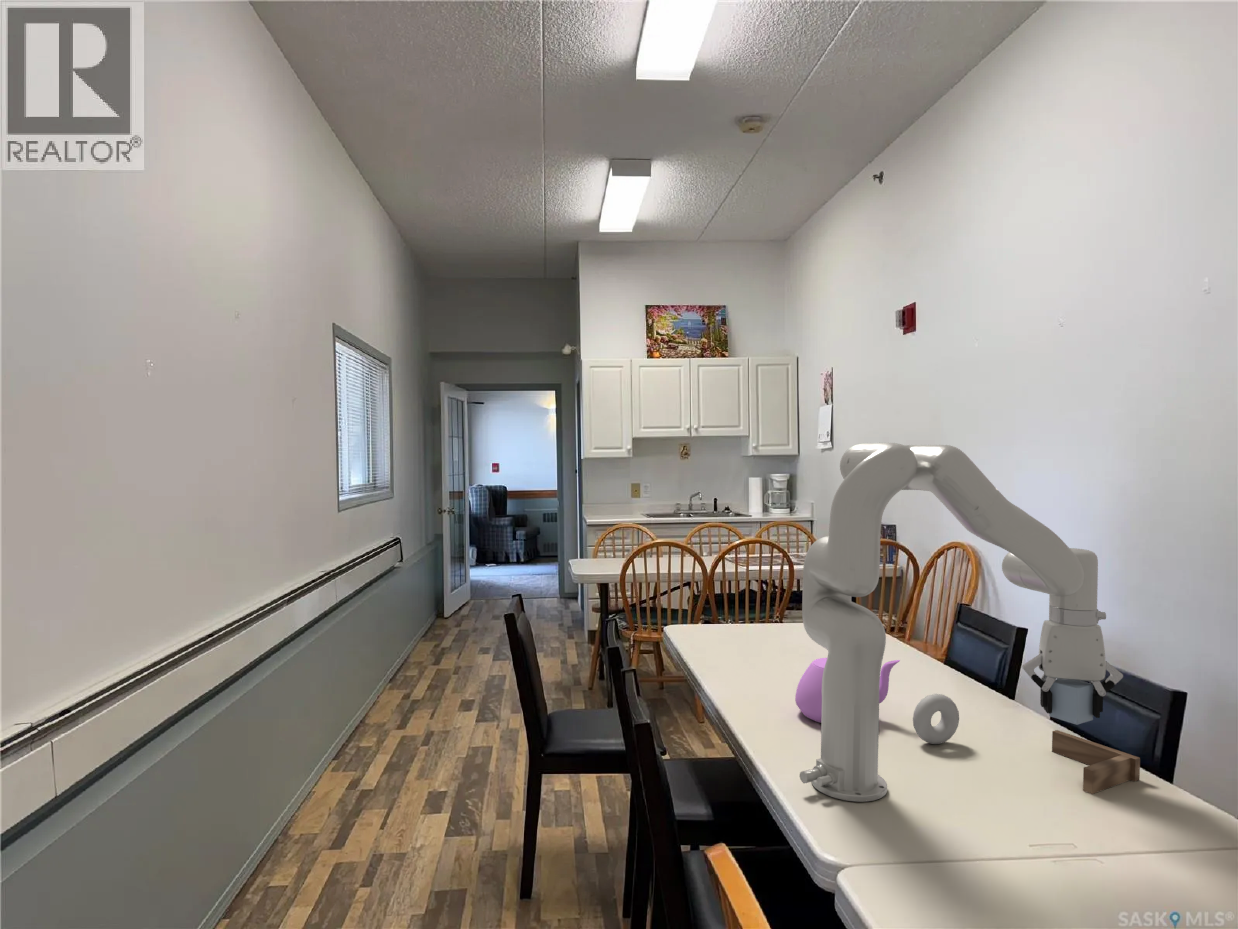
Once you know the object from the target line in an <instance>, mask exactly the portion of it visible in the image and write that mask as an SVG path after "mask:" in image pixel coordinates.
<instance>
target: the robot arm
mask: <svg viewBox="0 0 1238 929" xmlns="http://www.w3.org/2000/svg"><path fill="white" fill-rule="evenodd" d="M839 471H840V474H841V476H842V478H843V480H842V482H841V483H840V485H839V486H838V488H837V490H836V492H835V494H834V497H833V500H832V502H831V506H830V517H829V527H828V535H826V536H823V537H820V538H818V539H817V540H815V541H814V542H813V543H812V544H811V545H810V546H809V548H808V550H807V552H806V554H805V557H804V562H803V569H802V601H801V602H802V603H801V604H802V606H801V610H802V611H801V614H802V615H801V616H802V617H801V618H802V624H803V628H804V631H805V632H806V634H807V635H808V637H809V638H810V639H811V640H812V642H814V643H816V644H817V645H819V646H821V647H822V648H824V649H826V650H827V651H828V652H827V657H826V658H827V661H826V664H825V667H824V671H823V677H822V719H821V724H820V726H821V729H820V735H821V736H820V758H817V759H816V761H815V765H814V766H813V767H812V769H806V770H802V771H800V772H799V780H800V781H801V782H802V784H808V783H811V784H812V786H813V787H814V788H815V789H816V790H817V791H819V792H820V793H822V794H824V795H826V796H828V797H831V798H834V799H837V800H838V799H839V800H842V801H849V802H854V803H855V802H856V803H857V802H861V803H864V802H873V801H877V800H880V799H881V798H883V797H885V795H887V792H888V784H887V781H886V780H885V779H884V777H882V776H881V775H880V774H878V773H879V770H878V769H879V736H880V735H879V732H880V730H879V727H880V726H879V723H880V704H879V685H880V674H881V668H882V666H883V659H884V655H885V649H886V644H887V639H886V638H887V636H886V629H885V627H884V624H883V623H882V620H881V619H880V617H878V616H877V614H875V612H873V611H872V610H870V609H869V608H868V607H865V606H863V605H861V604H858V603H856V602H854V601H852V597H854V598H861V597H862V598H863V597H867V596H868V595H870V594H871V593H872V592H874V591H875V589H876V588H877V587H878V586H877V585H878V584H879V578H880V571H881V570H880V569H881V566H880V565H881V530H882V520H883V515H884V512H885V509H886V508H887V506H888V504H889V502H890V501H891V500H892V498H893V497H894V496H896V495H897V494H898V493H899V492H900V491H924V492H925V491H926V492H930V493H932V494H933V495H934V496H935V497H936V499H938V500H939V502H940V503H941V504H943V505H944V507H945V508H946V509H947V510H948V511H949V512H950V513H951V514H952V515H953V516H954V517H955V519H956V520H957V521H958V522H959V523H960V524H961V525H962V526H963V527H964V529H965V530H967V531H968V532H969V533H970V534H972V535H974V536H975V537H977V538H980V539H981V540H983V541H984V542H987V543H990V544H991V545H995V546H997V547H999V548H1001V549H1003V550H1005V551H1007V552H1008V553H1006V554H1005V556H1004V558H1003V559H1002V563H1001V571H1002V573H1003V575H1004V577H1005V579H1007V580H1008V582H1010V583H1012V584H1013V585H1014V586H1018V587H1020V588H1023V589H1027V590H1031V591H1036V592H1040V593H1043V594H1044V593H1045V594H1047V595H1049V598H1048V601H1049V602H1048V603H1049V605H1048V606H1049V607H1048V619H1046V620H1044V621H1043V624H1042V628H1041V632H1040V640H1039V647H1038V655H1036V656H1034V657H1033V658H1032V659H1030V660H1028V661H1027V662H1026V663H1024V664H1023V665H1022V666H1021V668H1022V669H1023V671H1024V672H1025V673H1026V674H1027V675H1028V676H1029V678H1030V679H1031V680H1032V681H1033V682H1034V683H1035V684H1036V685H1037V686H1038V687H1039V688H1040V699H1039V700H1040V704H1039V705H1040V707H1041V708H1043V709H1044V711H1045V712H1046V713H1047V714H1048V715H1049V714H1051V713H1052V692H1051V691H1050V687H1051V686H1052V684H1053V683H1054V681H1055V680H1056V679H1065V680H1078V681H1082V682H1089V683H1090V684H1093V718H1096V719H1100V717H1101V716H1100V715H1101V713H1103V711H1104V697H1105V696H1106V694H1107V693H1108V692H1109V691H1110V690H1112V689H1113V688H1114V687H1115V686H1116V685H1117V683H1119V682H1120V681H1121V680H1122V679H1123V678H1124V673H1122V672H1121V671H1119V670H1118V669H1117V668H1116V667H1114V666H1113V665H1112V664H1110V663H1109V662H1108V661H1107V660H1106V649H1105V642H1104V636H1103V632H1102V627H1101V625H1099V622H1100V621H1101V620H1106V619H1107V613H1106V611H1101V610H1099V609H1098V590H1099V589H1098V585H1099V584H1098V582H1099V581H1098V580H1099V579H1098V577H1099V576H1098V575H1099V574H1098V573H1099V559H1098V555H1097V554H1096V553H1095V552H1094V551H1092V550H1089V549H1083V548H1076V547H1075V548H1074V547H1071V548H1070V547H1069V546H1068V545H1067V543H1065V542H1064V540H1063V539H1062V538H1060V536H1058V535H1057V534H1056V533H1055V531H1053V530H1052V529H1050V528H1049V527H1048V526H1046V525H1045V524H1044V523H1042V522H1041V521H1039V520H1038V519H1037V518H1034V517H1033V516H1032V515H1031V514H1029V513H1028V512H1026V511H1024V509H1022V508H1020V507H1019V506H1017V505H1015V504H1014V503H1013V502H1011V501H1010V500H1008V499H1007V498H1006V497H1005V496H1004V495H1003V493H1002V492H1000V490H998V488H997V487H996V486H995V485H994V484H993V482H991V480H989V478H988V477H987V476H986V475H985V474H984V473H983V471H981V469H980V468H979V467H978V466H977V465H976V464H975V463H974V462H973V461H972V460H971V459H970V457H969V456H968V455H967V454H966V453H965V452H964V451H963V450H961V449H960V448H958V447H956V446H953V445H950V444H949V445H948V444H914V445H913V444H911V445H910V444H909V445H907V444H906V445H905V444H900V443H895V442H865V443H864V442H863V443H857V444H854V445H852V446H850V447H849V448H848V449H847V450H846V451H845V452H843V454H842V456H841V459H840V463H839ZM1037 667H1038V669H1039V670H1040V671H1042V672H1043V675H1042V676H1041V677H1040V676H1039V675H1038V674H1037V673H1036V672H1035V669H1036V668H1037ZM1107 672H1108V673H1109V674H1110V675H1109V676H1108V677H1107V678H1106V674H1107Z"/></svg>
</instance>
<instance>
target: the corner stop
mask: <svg viewBox="0 0 1238 929" xmlns="http://www.w3.org/2000/svg"><path fill="white" fill-rule="evenodd" d="M1051 736H1052V737H1051V738H1052V740H1051V742H1052V743H1051V752H1052V753H1054V754H1057V755H1059V756H1063V757H1066V758H1069V759H1071V760H1074V761H1077V762H1079V763H1082V764H1085V765H1087V766H1085V767H1083V777H1082V791H1083V792H1086V793H1088V794H1089V795H1090V794H1091V795H1093V794H1097V793H1099V792H1102V791H1104V790H1107V789H1110V788H1113V787H1115V786H1117V785H1121V784H1123V783H1127V782H1129V781H1132V782H1137V781H1140V777H1141V776H1140V773H1141V772H1140V771H1141V757H1139V756H1136V755H1132V754H1131V753H1127V752H1124V751H1121V750H1118V749H1115V748H1112V747H1108V746H1105V745H1103V744H1100V743H1097V742H1094V741H1091V740H1089V739H1085V738H1083V737H1079V736H1075V735H1074V734H1071V733H1066V732H1064V731H1062V730H1058V729H1055V730H1052V734H1051Z"/></svg>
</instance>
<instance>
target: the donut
mask: <svg viewBox="0 0 1238 929" xmlns="http://www.w3.org/2000/svg"><path fill="white" fill-rule="evenodd" d="M958 709H959V708H958V706H957V705H956V703H955V702H954V700H953V699H951V698H950V697H949V696H947V695H945V694H943V693H933V694H928V695H925V697H923V698H922V699H920V700H919V702H918V703H917V704H916V706H915V708H914V711H913V716H912V724H913V729H914V731H915V733H916V735H917V736H918V737H919V738H920V739H921V740H922V741H924V742H926V743H927V744H932V745H939V744H942V743H945V742H946V743H947V742H948V741H949V740H950V739H951V738H952V737H953V735H955V733H956V732H957V729H958V727H959V722H960V712H959V710H958ZM937 712H940V720H939V722H938V723H937V724H935V725H934V726H933V725H932V719H933V716H934V715H935V714H936V713H937Z"/></svg>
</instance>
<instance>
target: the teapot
mask: <svg viewBox="0 0 1238 929" xmlns="http://www.w3.org/2000/svg"><path fill="white" fill-rule="evenodd" d="M826 661H827V657H820V658H816V659H814V660H812V662H811V663H810V664H809V665H808V667H806V669H805V671H804V673H803V674H802V675H801V678H800V679H799V681H798V683H797V687H796V691H795V695H794V696H795V704H796V706H797V708H798V709H799V710H800V711H801V713H802V714H803V715H804V716H805V717H807V718H808V719H810V720H812V721H815V722H817V723H821V719H822V677H823V671H824V667H825V664H826ZM900 661H901V659H896V660H890V661H887V662H884V663H883V664H882V665H881V672H880V685H879V705H880V704H881V703H882V702H883V701H885V700H886V698H887V695H888V693H889V687H890V686H889V684H890V673H891V671H892V669H893V668H894V666H896V664H898V663H899V662H900Z"/></svg>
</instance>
